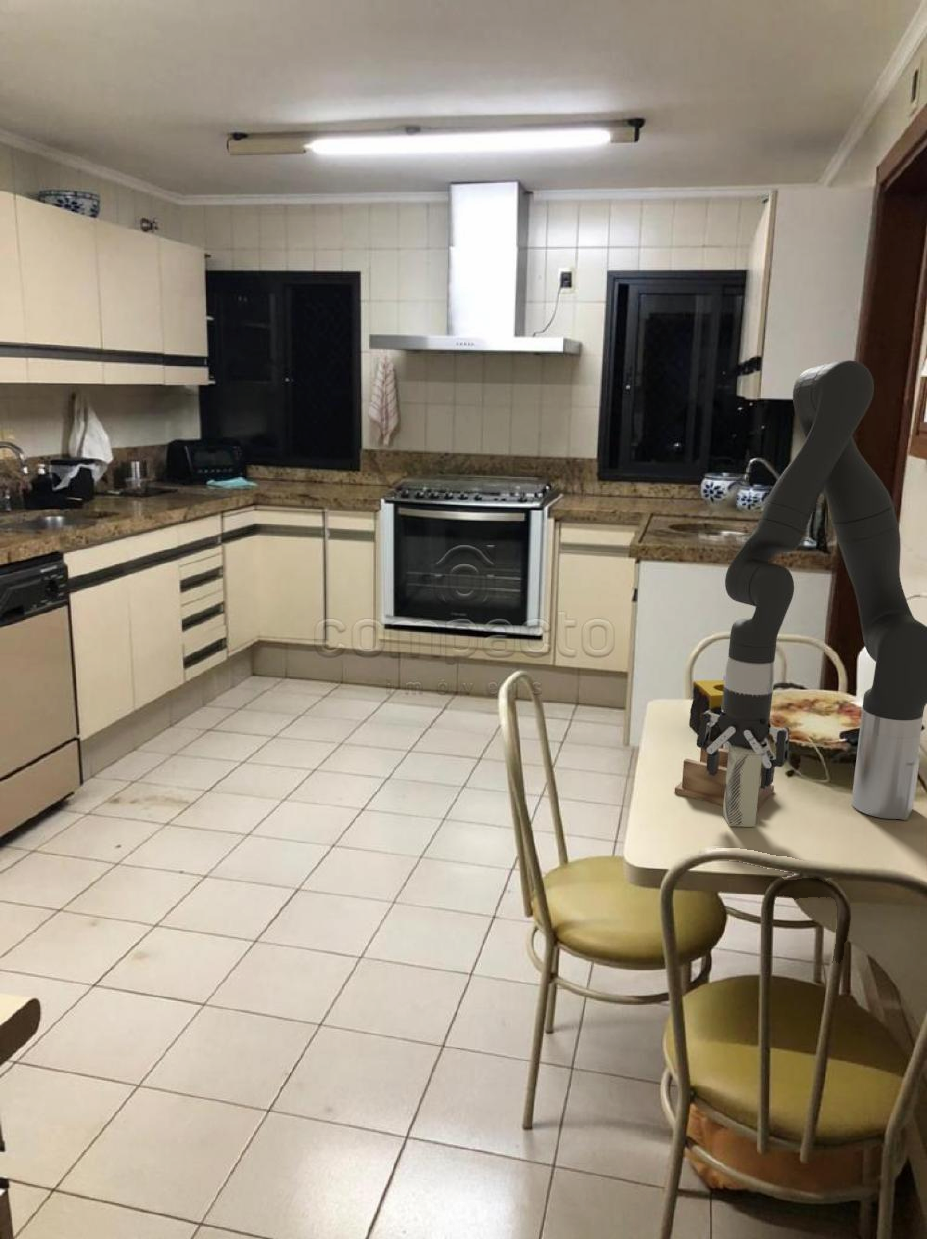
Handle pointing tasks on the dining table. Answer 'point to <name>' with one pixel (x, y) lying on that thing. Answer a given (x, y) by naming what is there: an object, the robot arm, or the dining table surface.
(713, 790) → the rack
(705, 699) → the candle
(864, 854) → the dining table surface
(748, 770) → the box
